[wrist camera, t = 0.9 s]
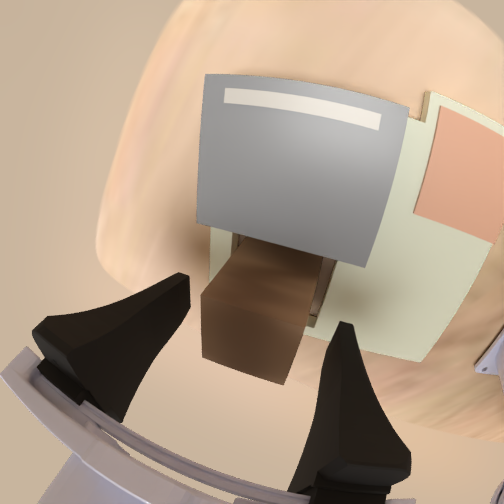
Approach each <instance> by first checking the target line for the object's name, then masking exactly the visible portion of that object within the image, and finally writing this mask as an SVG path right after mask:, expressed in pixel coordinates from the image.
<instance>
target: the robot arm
mask: <svg viewBox="0 0 504 504" xmlns="http://www.w3.org/2000/svg"><path fill="white" fill-rule="evenodd" d="M190 307H191V304H190V277H189V276H188V275H185V274H182V273H179V272H178V273H176V274H174V275H172V276H170V277H168V278H166V279H164V280H162V281H160V282H158V283H157V284H155V285H153V286H151V287H149V288H147V289H145V290H143V291H141V292H138V293H136V294H134V295H132V296H130V297H127V298H125V299H123V300H120V301H118V302H115V303H112V304H110V305H106V306H103V307H100V308H96V309H92V310H88V311H84V312H79V313H74V314H66V315H55V316H47V317H46V318H45V319H44V320H43V321H42V322H41V323H40V324H38V325H37V326H36V327H35V328H34V329H33V330H32V336H33V338H34V340H35V342H36V344H37V345H38V347H39V349H40V350H41V352H42V354H43V355H44V357H45V358H44V359H43V360H42V361H41V360H40V358H39V357H38V356H37V355H36V354H35V353H34V352H33V351H32V350H31V349H30V348H29V347H27V346H26V347H25V348H24V349H23V350H22V351H21V352H20V353H19V354H18V355H17V356H16V357H15V358H14V359H13V360H12V361H11V363H10V364H9V365H8V366H7V367H6V368H5V369H4V370H3V371H2V372H1V373H0V377H1V378H2V379H3V381H4V382H5V383H6V384H7V385H8V387H9V388H10V389H11V390H12V391H13V393H14V394H15V395H16V396H17V397H18V399H19V400H20V401H21V402H22V403H23V404H24V405H25V407H26V408H27V409H28V410H29V411H30V412H31V413H32V414H33V415H34V416H35V417H36V418H37V419H38V420H39V421H40V422H41V423H42V424H43V425H44V426H45V427H46V428H47V429H48V430H49V431H50V432H51V433H52V434H53V435H54V436H55V437H56V438H57V439H59V441H61V442H62V443H63V444H64V445H65V446H66V447H67V448H69V449H70V450H71V451H72V452H73V453H72V455H71V456H70V457H69V459H68V460H67V462H66V463H65V465H64V466H63V467H62V469H61V470H60V471H59V473H58V474H57V476H56V477H55V479H54V480H53V481H52V483H51V484H50V486H49V487H48V489H47V490H46V492H45V493H44V494H43V496H42V497H41V499H40V500H39V502H38V503H37V504H231V503H228V502H225V501H223V500H220V499H218V498H215V497H213V496H210V495H208V494H205V493H203V492H201V491H198V490H196V489H194V488H191V487H189V486H187V485H185V484H183V483H181V482H178V481H177V480H174V479H172V478H170V477H168V476H166V475H164V474H162V473H160V472H158V471H157V470H155V469H153V468H151V467H149V466H147V465H145V464H143V463H141V462H140V461H138V460H136V459H134V458H133V457H131V456H130V454H129V453H127V452H126V451H125V450H124V449H122V448H121V447H120V446H119V445H118V443H117V442H116V441H115V440H114V439H113V438H111V437H110V436H109V435H107V434H106V433H105V432H107V433H108V434H110V435H111V436H113V437H114V438H116V439H117V440H119V441H121V442H122V443H124V444H125V445H127V446H129V447H130V448H132V449H134V450H135V451H137V452H139V453H141V454H143V455H144V456H146V457H148V458H150V459H152V460H154V461H156V462H158V463H160V464H161V465H163V466H165V467H167V468H170V469H172V470H174V471H176V472H178V473H180V474H182V475H185V476H187V477H189V478H192V479H194V480H196V481H199V482H201V483H204V484H206V485H209V486H212V487H214V488H217V489H220V490H222V491H226V492H228V493H231V494H234V495H238V496H241V497H244V498H248V499H251V500H247V499H242V498H236V499H235V501H234V503H233V504H415V503H416V499H414V498H413V499H390V500H386V495H387V494H389V493H390V490H391V486H392V485H394V484H396V483H398V482H401V481H403V480H404V479H406V478H408V476H409V475H410V473H411V452H410V451H409V449H408V448H407V447H406V445H405V444H404V443H403V441H402V440H401V439H400V437H399V436H398V435H397V433H396V432H395V430H394V429H393V427H392V425H391V424H390V422H389V420H388V418H387V417H386V415H385V413H384V411H383V410H382V408H381V406H380V404H379V401H378V399H377V397H376V395H375V393H374V390H373V388H372V386H371V383H370V380H369V378H368V375H367V372H366V369H365V366H364V363H363V360H362V356H361V353H360V349H359V346H358V342H357V338H356V333H355V329H354V326H353V324H351V323H347V322H343V321H339V324H338V326H337V328H336V330H335V333H334V335H333V337H332V339H331V341H330V343H329V346H328V348H327V350H326V354H325V358H324V362H323V366H322V371H321V377H320V384H319V391H318V398H317V404H316V410H315V415H314V419H313V422H312V426H311V429H310V432H309V435H308V438H307V441H306V444H305V447H304V450H303V453H302V456H301V459H300V461H299V464H298V466H297V469H296V471H295V474H294V476H293V479H292V481H291V483H290V486H289V488H288V490H287V491H282V490H278V489H273V488H270V487H266V486H262V485H259V484H255V483H252V482H248V481H245V480H241V479H239V478H236V477H233V476H230V475H227V474H224V473H221V472H218V471H216V470H213V469H210V468H208V467H205V466H203V465H200V464H198V463H196V462H193V461H191V460H189V459H186V458H184V457H182V456H180V455H178V454H175V453H173V452H171V451H169V450H167V449H165V448H163V447H161V446H159V445H157V444H155V443H153V442H151V441H150V440H148V439H146V438H144V437H142V436H141V435H138V434H137V433H135V432H133V431H132V430H130V429H128V428H127V427H125V426H123V425H122V424H120V423H122V422H123V419H124V417H125V415H126V412H127V410H128V407H129V405H130V403H131V401H132V399H133V397H134V395H135V393H136V391H137V389H138V387H139V385H140V383H141V381H142V379H143V378H144V376H145V374H146V372H147V370H148V369H149V367H150V365H151V364H152V362H153V360H154V359H155V358H156V356H157V355H158V353H159V352H160V351H161V349H162V348H163V346H164V345H165V344H166V343H167V342H168V340H169V339H170V338H171V337H172V335H173V334H174V332H175V331H176V330H177V328H178V327H179V326H180V325H181V323H182V322H183V320H184V318H185V317H186V315H187V313H188V311H189V309H190ZM474 369H475V372H477V373H484V374H492V375H499V378H500V382H501V386H502V390H503V394H504V329H503V330H502V332H501V333H500V334H499V336H498V337H497V338H496V340H495V341H494V342H493V344H492V345H491V346H490V348H489V349H488V350H487V351H486V353H485V354H484V355H483V356H482V357H481V359H480V360H479V361H478V362H477V363H476V365H475V366H474ZM101 429H102V430H104V431H105V432H103V431H102V430H101ZM252 500H254V501H252ZM490 504H504V480H503V481H502V482H501V483H500V485H499V486H498V488H497V489H496V491H495V493H494V495H493V497H492V499H491V502H490Z"/></svg>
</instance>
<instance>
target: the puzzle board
mask: <svg viewBox="0 0 504 504" xmlns="http://www.w3.org/2000/svg"><path fill="white" fill-rule="evenodd" d="M503 223H504V126H502V125H501V124H499V123H497V122H495V121H494V120H492V119H490V118H488V117H486V116H484V115H483V114H481V113H479V112H477V111H475V110H473V109H471V108H469V107H467V106H465V105H463V104H461V103H458V102H456V101H454V100H452V99H449V98H447V97H445V96H442V95H440V94H438V93H435V92H433V91H428V92H425V96H424V102H423V108H422V114H421V119H420V121H418V120H415V119H412V118H410V117H408V119H407V125H406V130H405V134H404V139H403V144H402V148H401V152H400V157H399V161H398V165H397V169H396V173H395V176H394V180H393V184H392V187H391V191H390V194H389V198H388V201H387V205H386V208H385V211H384V214H383V218H382V221H381V224H380V227H379V230H378V233H377V236H376V239H375V242H374V245H373V247H372V250H371V253H370V256H369V259H368V261H367V264H366V267H365V268H363V267H359V266H355V265H352V264H348V263H345V262H341V261H337V260H336V262H335V265H334V268H333V271H332V274H331V278H330V281H329V284H328V287H327V290H326V292H325V295H324V298H323V301H322V304H321V307H320V310H319V312H318V315H317V317H314V316H310V315H309V316H308V320H307V323H306V327H305V330H304V333H303V334H304V335H307V336H311V337H314V338H318V339H322V340H326V341H329V342H330V341H331V339H332V337H333V335H334V333H335V330H336V328H337V326H338V324H339V321H343V322H347V323H351V324H353V326H354V329H355V333H356V338H357V342H358V346H359V349H361V350H365V351H369V352H373V353H378V354H382V355H386V356H391V357H396V358H400V359H405V360H410V361H415V362H420V363H421V361H422V360H423V359H424V358H425V356H426V355H427V354H428V352H429V351H430V350H431V348H432V347H433V346H434V344H435V343H436V341H437V340H438V339H439V337H440V336H441V334H442V333H443V331H444V330H445V329H446V327H447V326H448V324H449V323H450V321H451V319H452V318H453V316H454V315H455V313H456V312H457V310H458V308H459V307H460V305H461V303H462V302H463V300H464V298H465V297H466V295H467V293H468V291H469V290H470V288H471V286H472V284H473V282H474V281H475V279H476V277H477V275H478V273H479V271H480V269H481V267H482V265H483V263H484V261H485V259H486V257H487V255H488V253H489V250H490V248H491V246H492V244H495V242H496V240H497V237H498V235H499V233H500V230H501V228H502V225H503ZM238 235H239V234H237V233H233V232H229V231H225V230H222V229H218V228H214V227H211V233H210V263H209V283H210V282H211V281H212V279H213V278H214V277H215V276H216V274H217V273H218V272H219V271H220V269H221V268H222V267H223V266H224V264H225V263H226V262H227V260H228V259H229V258H230V257H231V255H232V254H233V253H234V252H235V250H236V249H237V246H238Z"/></svg>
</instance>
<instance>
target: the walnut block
mask: <svg viewBox="0 0 504 504" xmlns="http://www.w3.org/2000/svg"><path fill="white" fill-rule="evenodd" d="M322 259H323V256H319V255H316V254H312V253H308V252H305V251H301V250H297V249H294V248H290V247H286V246H282V245H279V244H275V243H271V242H267V241H264V240H260V239H256V238H252V237H248V236H247V237H246V238H245V239H244V240H243V242H242V243H241V244H240V245H239V247H238V248H237V249H236V250H235V252H234V253H233V254H232V255H231V257H230V258H229V259H228V260H227V262H226V263H225V264H224V266H223V267H222V268H221V269H220V271H219V272H218V273H217V274H216V276H215V277H214V278H213V279H212V281H211V282H210V283H209V285H208V286H207V287H206V288H205V290H204V291H203V292H202V294H201V336H202V357H203V358H206V359H208V360H211V361H213V362H216V363H218V364H221V365H224V366H227V367H229V368H232V369H235V370H238V371H240V372H243V373H246V374H249V375H252V376H255V377H258V378H261V379H264V380H267V381H271V382H274V383H277V384H280V385H284V383H285V381H286V378H287V376H288V373H289V371H290V368H291V365H292V363H293V360H294V357H295V355H296V352H297V349H298V347H299V344H300V341H301V338H302V336H303V333H304V330H305V327H306V323H307V320H308V316H309V312H310V308H311V305H312V301H313V297H314V293H315V289H316V285H317V281H318V276H319V272H320V268H321V264H322Z"/></svg>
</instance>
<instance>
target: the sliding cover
mask: <svg viewBox="0 0 504 504" xmlns="http://www.w3.org/2000/svg"><path fill="white" fill-rule="evenodd" d="M409 109H410V108H409V107H406V106H403V105H400V104H397V103H394V102H390V101H387V100H384V99H380V98H377V97H373V96H369V95H366V94H362V93H358V92H354V91H349V90H345V89H341V88H336V87H331V86H326V85H321V84H315V83H309V82H303V81H296V80H289V79H281V78H272V77H261V76H249V75H230V74H205V81H204V91H203V103H202V115H201V129H200V144H199V162H198V186H197V223H198V224H202V225H206V226H210V227H214V228H218V229H222V230H225V231H229V232H233V233H237V234H241V235H245V236H248V237H252V238H256V239H260V240H264V241H267V242H271V243H275V244H279V245H282V246H286V247H290V248H294V249H297V250H301V251H305V252H308V253H312V254H316V255H319V256H323V257H327V258H330V259H334V260H337V261H341V262H345V263H348V264H352V265H355V266H359V267H363V268H365V267H366V264H367V261H368V259H369V256H370V253H371V250H372V247H373V245H374V242H375V239H376V236H377V233H378V230H379V227H380V224H381V221H382V218H383V214H384V211H385V208H386V205H387V201H388V198H389V194H390V191H391V187H392V184H393V180H394V176H395V173H396V169H397V165H398V161H399V157H400V152H401V148H402V144H403V139H404V134H405V130H406V125H407V119H408V114H409Z"/></svg>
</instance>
